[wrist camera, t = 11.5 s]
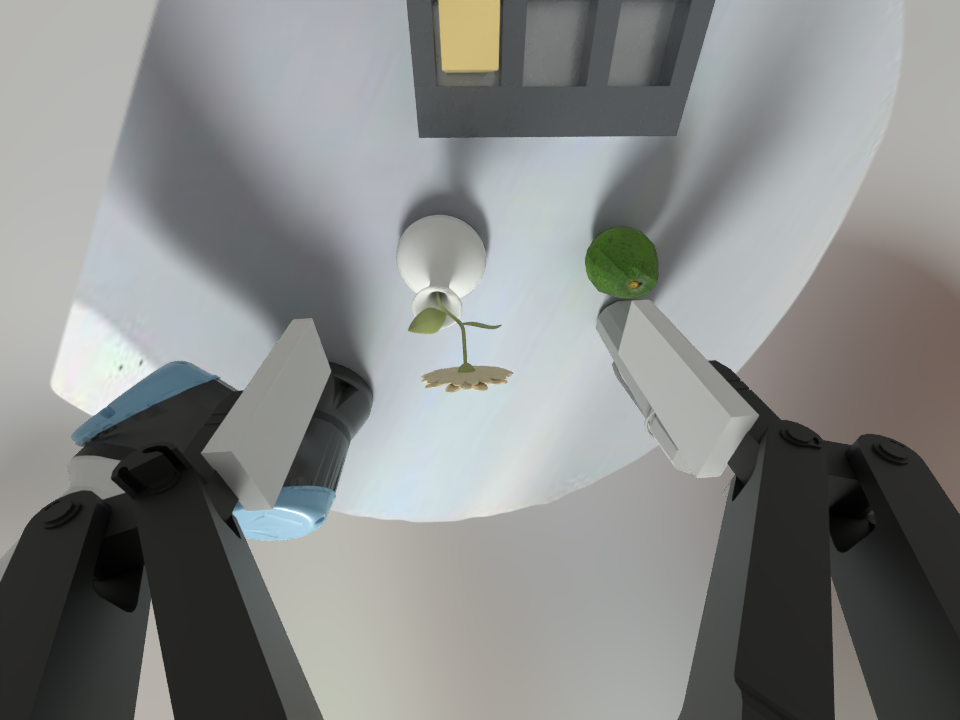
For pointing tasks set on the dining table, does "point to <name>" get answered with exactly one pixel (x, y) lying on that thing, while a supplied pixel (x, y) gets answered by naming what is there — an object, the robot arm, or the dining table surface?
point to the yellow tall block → (469, 35)
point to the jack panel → (564, 70)
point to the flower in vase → (445, 290)
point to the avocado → (622, 263)
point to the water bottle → (611, 334)
